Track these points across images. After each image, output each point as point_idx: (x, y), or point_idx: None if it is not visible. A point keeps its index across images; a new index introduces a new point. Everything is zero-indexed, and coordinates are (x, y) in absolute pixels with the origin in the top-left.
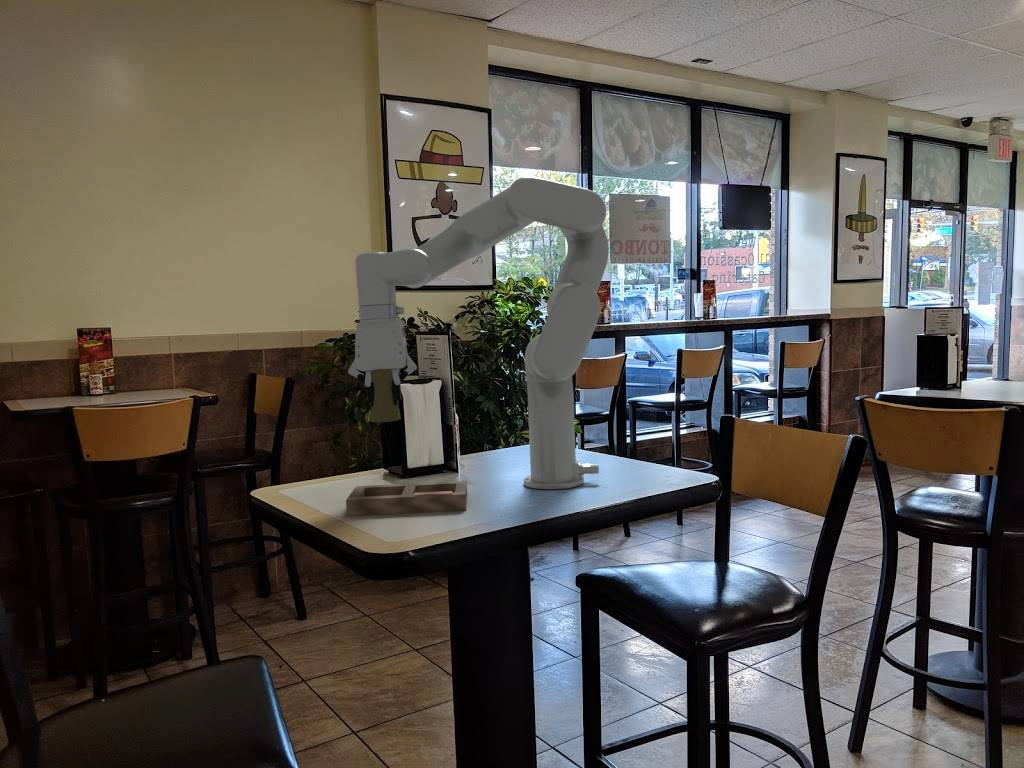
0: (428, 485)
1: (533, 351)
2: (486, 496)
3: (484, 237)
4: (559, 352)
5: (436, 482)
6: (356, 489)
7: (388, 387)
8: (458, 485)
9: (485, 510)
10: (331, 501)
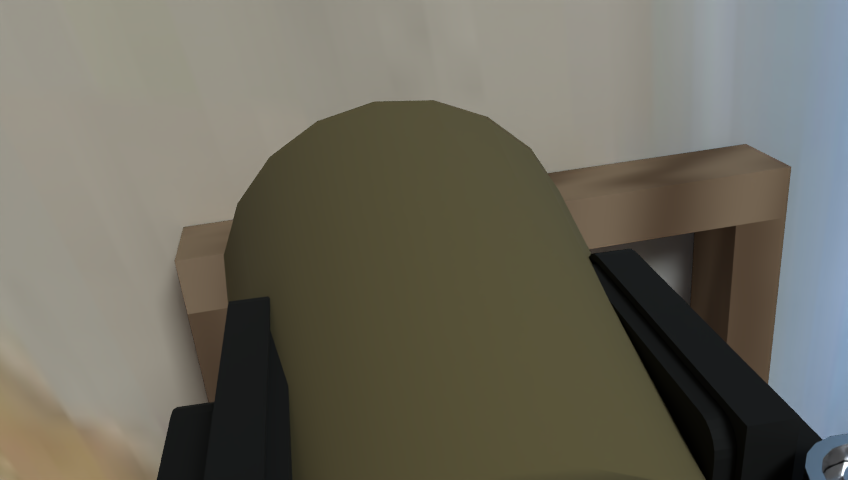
0: (593, 247)
1: None
2: (827, 166)
3: None
4: None
5: (634, 197)
6: (211, 341)
7: None
8: (743, 274)
9: (794, 394)
10: (25, 226)
